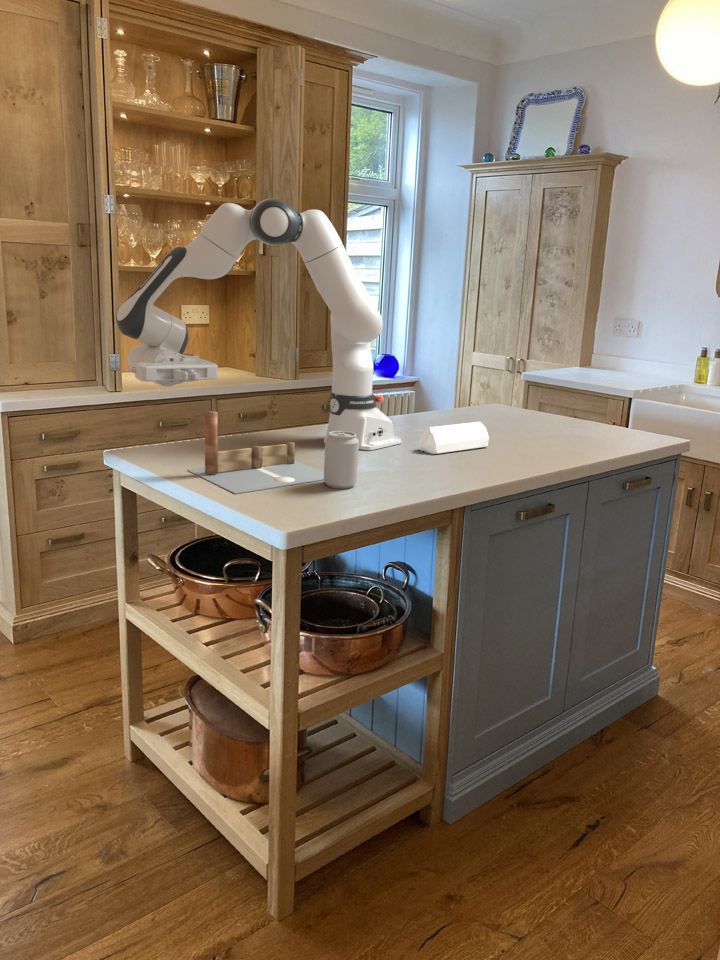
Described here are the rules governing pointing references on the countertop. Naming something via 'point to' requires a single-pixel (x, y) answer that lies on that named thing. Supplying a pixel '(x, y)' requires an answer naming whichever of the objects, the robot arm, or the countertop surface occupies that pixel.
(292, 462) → the fixed rail
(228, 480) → the card
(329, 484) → the can
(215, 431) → the rail
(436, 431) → the white chamfered prism
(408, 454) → the countertop surface
